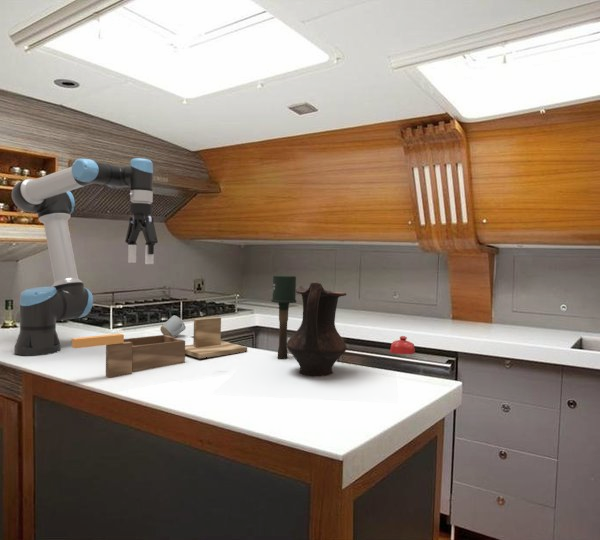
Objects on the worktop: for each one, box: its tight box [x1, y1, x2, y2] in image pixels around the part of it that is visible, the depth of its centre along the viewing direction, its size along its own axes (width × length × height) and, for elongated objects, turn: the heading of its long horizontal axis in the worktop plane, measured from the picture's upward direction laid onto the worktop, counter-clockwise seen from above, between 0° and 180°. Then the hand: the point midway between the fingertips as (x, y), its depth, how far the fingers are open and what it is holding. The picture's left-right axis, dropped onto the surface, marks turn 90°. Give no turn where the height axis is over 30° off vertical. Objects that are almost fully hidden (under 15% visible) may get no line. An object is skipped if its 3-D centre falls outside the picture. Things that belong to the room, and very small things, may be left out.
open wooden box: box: [105, 334, 186, 379], centre depth 161 cm, size 16×26×10 cm, turn 133°
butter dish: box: [389, 335, 416, 355], centre depth 184 cm, size 12×12×8 cm
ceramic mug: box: [160, 315, 187, 338], centre depth 210 cm, size 11×8×8 cm
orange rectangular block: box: [71, 333, 125, 349], centre depth 145 cm, size 2×14×2 cm, turn 133°
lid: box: [185, 316, 248, 359], centre depth 180 cm, size 16×20×12 cm
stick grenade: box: [270, 274, 297, 360], centre depth 171 cm, size 8×9×30 cm
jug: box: [287, 281, 347, 378], centre depth 151 cm, size 21×18×30 cm
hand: (140, 263), depth 177 cm, fingers open, 13 cm apart
